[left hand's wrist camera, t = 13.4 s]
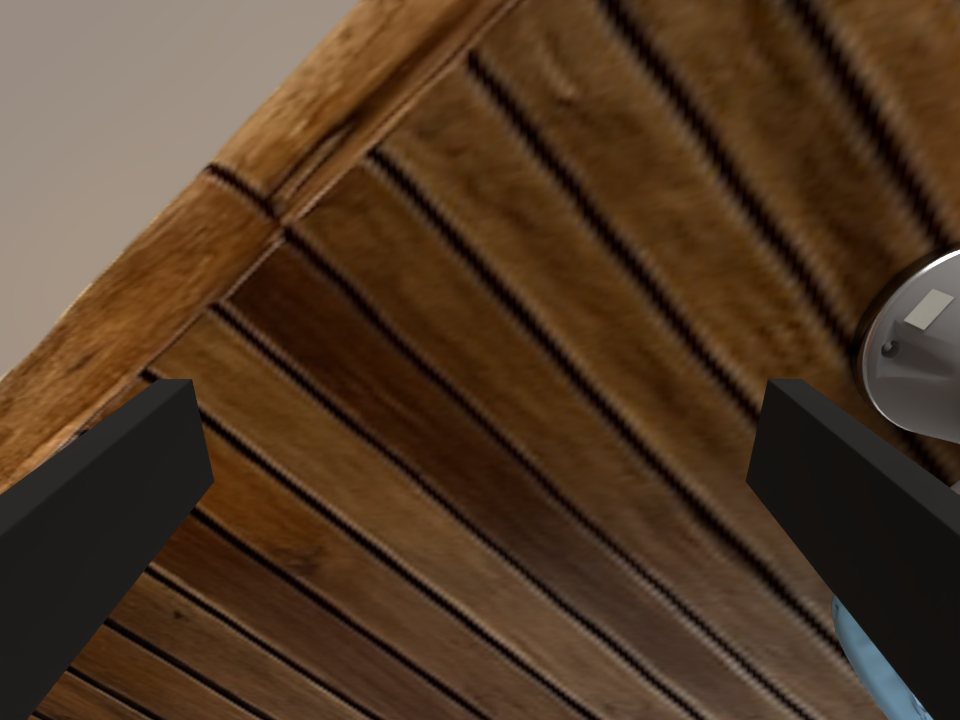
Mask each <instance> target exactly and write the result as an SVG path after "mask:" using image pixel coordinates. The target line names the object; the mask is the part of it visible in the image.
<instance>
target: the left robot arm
mask: <svg viewBox="0 0 960 720" xmlns="http://www.w3.org/2000/svg"><path fill="white" fill-rule="evenodd" d="M852 371H853V376H854V381H855V383H856V386H857V389H858V390H859V392H860V394H861V396H862V397H863V399H864V400H865V401H866V402H867V403H868V405H869V406H870V407H872V408H873V409H874V410H875V411H876V412H878V413H879V414H881V415H882V416H884V417H885V418H887V419H888V420H890V421H891V422H893V423H894V424H896V425H897V426H900V427H902V428H904V429H906V430H909V431H912V432H915V433H919V434H922V435H927V436H930V437H934V438H938V439H942V440H946V441H950V442H954V443H958V444H960V242H958V243H954V244H951V245H948V246H945V247H943V248H940V249H938V250H935V251H933V252H931V253H929V254H927V255H925V256H923V257H922V258H920V259H918V260H917V261H915V262H914V263H912V264H911V265H909V266H908V267H906V268H905V269H904V270H903V271H901V272H900V273H899V274H898V275H896V276H895V277H894V278H893V279H892V280H891V281H890V282H889V283H888V284H887V285H886V286H885V287H884V288H883V289H882V291H881V292H880V293H879V294H878V295H877V297H876V298H875V299H874V301H873V302H872V303H871V305H870V307H869V308H868V310H867V311H866V313H865V315H864V317H863V319H862V321H861V323H860V325H859V328H858V330H857V333H856V336H855V340H854V344H853V351H852ZM213 482H214V478H213V473H212V469H211V464H210V460H209V455H208V451H207V446H206V441H205V437H204V432H203V428H202V423H201V418H200V414H199V409H198V405H197V400H196V396H195V391H194V386H193V382H192V379H158V380H157V381H155V382H154V383H153V384H151V385H150V386H149V387H147V388H146V389H144V390H143V391H142V392H140V393H139V394H138V395H136V396H135V397H134V398H132V399H131V400H129V401H128V402H127V403H125V404H124V405H123V406H121V407H120V408H118V409H117V410H116V411H114V412H113V413H112V414H110V415H109V416H108V417H106V418H105V419H103V420H102V421H101V422H99V423H98V424H97V425H95V426H94V427H93V428H91V429H90V430H88V431H87V432H86V433H84V434H83V435H82V436H80V437H79V438H78V439H76V440H75V441H73V442H72V443H71V444H69V445H68V446H67V447H65V448H64V449H63V450H61V451H60V452H58V453H57V454H56V455H54V456H53V457H52V458H50V459H49V460H48V461H46V462H45V463H43V464H42V465H41V466H39V467H38V468H37V469H35V470H34V471H33V472H31V473H30V474H28V475H27V476H26V477H24V478H23V479H22V480H20V481H19V482H18V483H16V484H15V485H13V486H12V487H11V488H9V489H8V490H7V491H5V492H4V493H3V494H1V495H0V720H27V719H28V718H29V716H30V715H31V714H32V712H33V711H34V710H35V709H36V707H37V706H38V705H39V704H40V702H41V701H42V700H43V698H44V697H45V696H46V695H47V693H48V692H49V691H50V690H51V688H52V687H53V686H54V684H55V683H56V682H57V681H58V679H59V678H60V677H61V676H62V674H63V673H64V672H65V670H66V669H67V668H68V667H69V665H70V664H71V663H72V662H73V660H74V659H75V658H76V656H77V655H78V654H79V653H80V651H81V650H82V649H83V648H84V646H85V645H86V644H87V643H88V641H89V640H90V639H91V637H92V636H93V635H94V634H95V632H96V631H97V630H98V629H99V627H100V626H101V625H102V623H103V622H104V621H105V620H106V618H107V617H108V616H109V615H110V613H111V612H112V611H113V609H114V608H115V607H116V606H117V604H118V603H119V602H120V601H121V599H122V598H123V597H124V595H125V594H126V593H127V592H128V590H129V589H130V588H131V587H132V585H133V584H134V583H135V581H136V580H137V579H138V578H139V576H140V575H141V574H142V573H143V571H144V570H145V569H146V568H147V566H148V565H149V564H150V562H151V561H152V560H153V559H154V557H155V556H156V555H157V554H158V552H159V551H160V550H161V548H162V547H163V546H164V545H165V543H166V542H167V541H168V540H169V538H170V537H171V536H172V534H173V533H174V532H175V531H176V529H177V528H178V527H179V526H180V524H181V523H182V522H183V520H184V519H185V518H186V517H187V515H188V514H189V513H190V512H191V510H192V509H193V508H194V506H195V505H196V504H197V503H198V501H199V500H200V499H201V498H202V496H203V495H204V494H205V493H206V491H207V490H208V489H209V487H210V486H211V485H212V484H213ZM746 482H747V484H748V485H749V486H750V487H751V489H752V490H753V491H754V493H755V494H756V495H757V496H758V498H759V499H760V500H761V501H762V503H763V504H764V505H765V506H766V508H767V509H768V510H769V512H770V513H771V514H772V515H773V517H774V518H775V519H776V520H777V522H778V523H779V524H780V526H781V527H782V528H783V529H784V531H785V532H786V533H787V534H788V536H789V537H790V538H791V540H792V541H793V542H794V543H795V545H796V546H797V547H798V548H799V550H800V551H801V552H802V554H803V555H804V556H805V557H806V559H807V560H808V561H809V562H810V564H811V565H812V566H813V568H814V569H815V570H816V571H817V573H818V574H819V575H820V576H821V578H822V579H823V580H824V581H825V583H826V584H827V585H828V587H829V588H830V589H831V590H832V592H833V593H834V596H833V599H832V606H831V609H832V618H833V621H834V626H835V631H836V634H837V636H838V639H839V641H840V644H841V646H842V648H843V650H844V652H845V654H846V656H847V658H848V660H849V662H850V663H851V665H852V667H853V668H854V670H855V672H856V674H857V675H858V677H859V678H860V680H861V681H862V683H863V685H864V686H865V688H866V689H867V691H868V692H869V693H870V695H871V696H872V698H873V699H874V701H875V702H876V703H877V705H878V706H879V707H880V709H881V710H882V711H883V713H884V714H885V715H886V717H887V718H888V719H889V720H960V479H959V480H958V481H957V482H956V483H955V484H954V485H953V486H951V487H950V488H949V487H948V486H947V485H945V484H944V483H942V482H941V481H940V480H938V479H937V478H936V477H934V476H933V475H932V474H930V473H929V472H927V471H926V470H925V469H923V468H922V467H921V466H919V465H918V464H917V463H915V462H914V461H912V460H911V459H910V458H908V457H907V456H906V455H904V454H903V453H902V452H900V451H899V450H897V449H896V448H895V447H893V446H892V445H891V444H889V443H888V442H887V441H885V440H884V439H882V438H881V437H880V436H878V435H877V434H876V433H874V432H873V431H872V430H870V429H869V428H867V427H866V426H865V425H863V424H862V423H861V422H859V421H858V420H857V419H855V418H854V417H852V416H851V415H850V414H848V413H847V412H846V411H844V410H843V409H842V408H840V407H839V406H837V405H836V404H835V403H833V402H832V401H831V400H829V399H828V398H826V397H825V396H824V395H822V394H821V393H820V392H818V391H817V390H816V389H814V388H813V387H811V386H810V385H809V384H807V383H806V382H805V381H803V380H802V379H768V382H767V386H766V391H765V396H764V400H763V405H762V409H761V414H760V418H759V423H758V428H757V432H756V437H755V441H754V446H753V451H752V455H751V460H750V464H749V469H748V473H747V478H746Z"/></svg>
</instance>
